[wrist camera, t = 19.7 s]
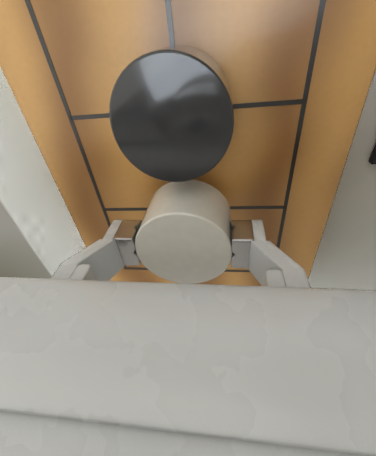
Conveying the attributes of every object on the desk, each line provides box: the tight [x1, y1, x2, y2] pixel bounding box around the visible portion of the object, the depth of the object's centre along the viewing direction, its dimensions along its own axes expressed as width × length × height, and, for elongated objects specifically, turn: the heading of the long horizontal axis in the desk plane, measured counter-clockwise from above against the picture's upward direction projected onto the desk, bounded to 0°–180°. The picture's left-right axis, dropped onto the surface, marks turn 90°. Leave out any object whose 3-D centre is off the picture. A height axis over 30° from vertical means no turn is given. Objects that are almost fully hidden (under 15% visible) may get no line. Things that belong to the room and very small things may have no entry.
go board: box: [0, 0, 376, 286], centre depth 14 cm, size 16×20×2 cm
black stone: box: [109, 45, 234, 182], centre depth 10 cm, size 5×5×3 cm
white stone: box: [135, 180, 233, 284], centre depth 13 cm, size 5×5×3 cm
